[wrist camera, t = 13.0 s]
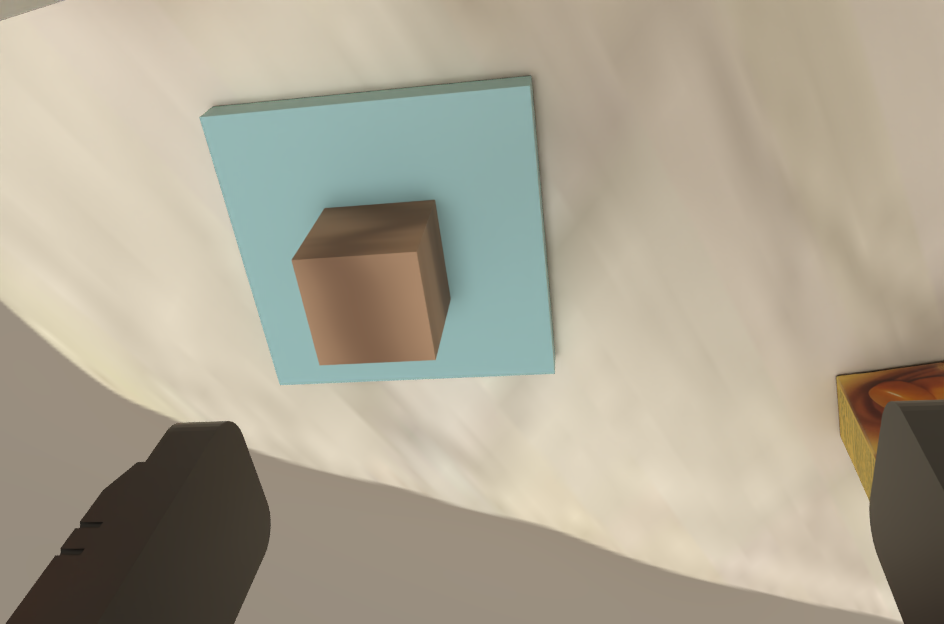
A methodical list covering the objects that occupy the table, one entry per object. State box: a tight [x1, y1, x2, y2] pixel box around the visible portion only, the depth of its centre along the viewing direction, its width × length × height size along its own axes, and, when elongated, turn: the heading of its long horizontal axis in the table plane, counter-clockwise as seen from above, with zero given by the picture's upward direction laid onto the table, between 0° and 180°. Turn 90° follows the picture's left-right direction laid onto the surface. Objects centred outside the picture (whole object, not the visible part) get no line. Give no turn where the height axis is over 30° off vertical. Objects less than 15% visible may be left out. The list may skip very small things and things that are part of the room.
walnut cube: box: [291, 200, 451, 365], centre depth 34 cm, size 5×5×5 cm
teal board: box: [200, 76, 555, 385], centre depth 37 cm, size 14×14×2 cm
